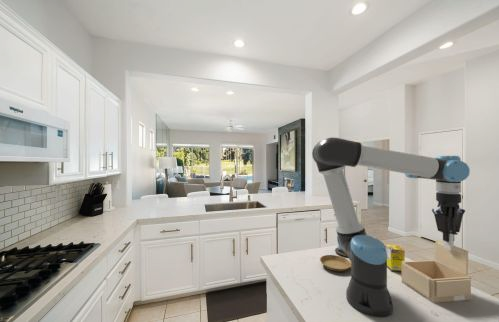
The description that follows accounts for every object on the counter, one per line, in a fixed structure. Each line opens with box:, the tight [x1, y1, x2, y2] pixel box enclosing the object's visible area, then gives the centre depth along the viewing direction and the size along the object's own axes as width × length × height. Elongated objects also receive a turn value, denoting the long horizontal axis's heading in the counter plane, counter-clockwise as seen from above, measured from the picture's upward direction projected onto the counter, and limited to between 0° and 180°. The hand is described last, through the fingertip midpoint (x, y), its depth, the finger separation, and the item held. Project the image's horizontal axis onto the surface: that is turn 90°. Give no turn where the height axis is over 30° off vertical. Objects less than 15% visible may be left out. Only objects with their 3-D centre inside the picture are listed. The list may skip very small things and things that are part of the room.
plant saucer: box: [319, 254, 351, 273], centre depth 105 cm, size 15×15×3 cm
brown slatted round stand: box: [334, 243, 347, 257], centre depth 121 cm, size 12×12×8 cm
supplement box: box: [385, 244, 405, 273], centre depth 101 cm, size 6×6×11 cm
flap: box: [434, 239, 469, 275], centre depth 85 cm, size 9×12×1 cm
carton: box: [401, 259, 472, 304], centre depth 84 cm, size 16×16×9 cm
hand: (448, 249), depth 85 cm, fingers closed
